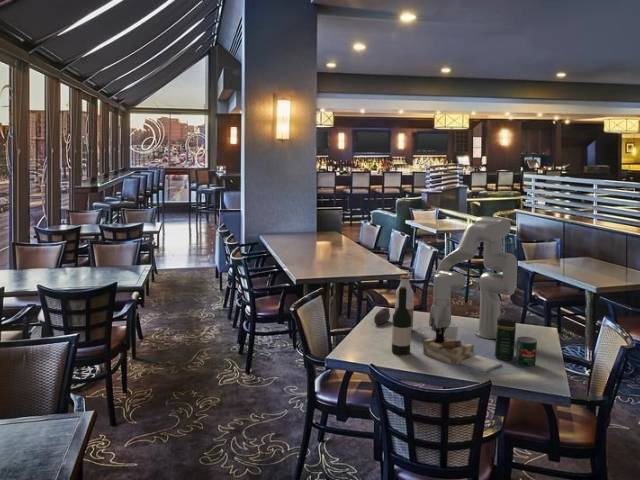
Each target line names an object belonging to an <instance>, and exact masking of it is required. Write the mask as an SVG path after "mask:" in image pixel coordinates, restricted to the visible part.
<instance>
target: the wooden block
mask: <svg viewBox="0 0 640 480" xmlns="http://www.w3.org/2000/svg"><path fill="white" fill-rule="evenodd" d="M436 344H439V345H442V346H443V348H445V349H448V350H451V349H454V348H457V347H460V346H462V345H463V344H462V340H456V341H444V342H442V343H440V342H439V343H436Z"/></svg>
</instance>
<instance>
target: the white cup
mask: <svg viewBox="0 0 640 480" xmlns="http://www.w3.org/2000/svg"><path fill="white" fill-rule="evenodd" d="M458 328H459V325H458V324H457V323H455V322H452V321H451V324H450V325H449V327H448V328H446V330H445V333H444V336H446V338H449V339H452V340H455V341H458V330H459V329H458Z"/></svg>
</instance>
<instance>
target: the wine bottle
mask: <svg viewBox="0 0 640 480" xmlns="http://www.w3.org/2000/svg"><path fill="white" fill-rule="evenodd" d="M406 295H407V289H406V287H404V286H401V287H400V288H399V306H398V308H397V310H396V311H395V310H394V313H393V314H392V325H391V326H392V332H391V352H392V353H391V354H394V355H396V356H407V355H410V354H411V342H412V341H411V339H412V334H411V333H412V331H411V316H410V314H409V312H408V310H407V308H406Z"/></svg>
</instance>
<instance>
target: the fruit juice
mask: <svg viewBox="0 0 640 480" xmlns="http://www.w3.org/2000/svg"><path fill="white" fill-rule="evenodd" d="M399 279H400V282H399V286H398V287H397V289H396V290H395V297H396V299H395V300H394V301H395V302H394V312H395V311H396V310H397V308H398V306H399V288H400V287H401V286H404V287H406V289H407V295H406V308H407V310H408V312H409V314H410V316H411V332H413V328H414V307H415V303H414V301H413V300H414V295H415V292H414V290H413V288H412V287H411V284H410V280H411V276H409V275H407V274H405V275H403V274H401V275H400V276H399Z"/></svg>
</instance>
